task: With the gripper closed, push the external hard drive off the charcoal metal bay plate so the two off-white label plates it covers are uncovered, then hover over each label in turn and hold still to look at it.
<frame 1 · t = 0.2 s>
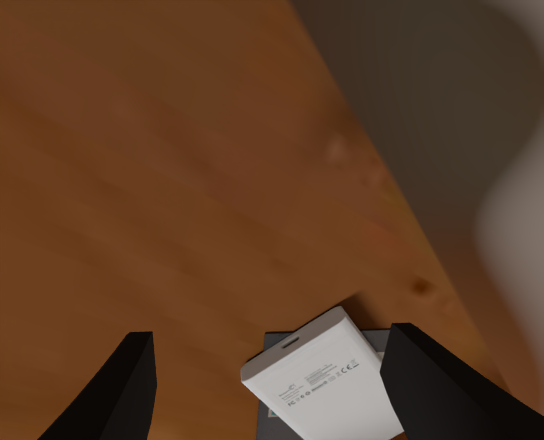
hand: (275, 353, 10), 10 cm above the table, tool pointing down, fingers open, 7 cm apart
external hard drive: (333, 382, 25), resting on bay plate
bay plate: (329, 402, 26), on the table
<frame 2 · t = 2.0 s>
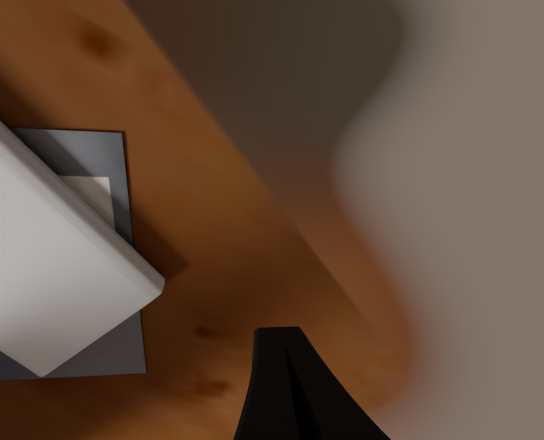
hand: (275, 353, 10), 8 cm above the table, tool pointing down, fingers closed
external hard drive: (10, 234, 16), resting on bay plate
bay plate: (19, 271, 17), on the table
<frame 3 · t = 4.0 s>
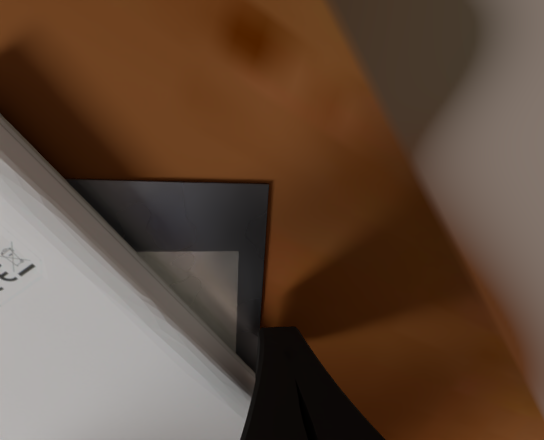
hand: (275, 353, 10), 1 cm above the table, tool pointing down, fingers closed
external hard drive: (55, 338, 10), resting on bay plate, touching gripper
bay plate: (88, 385, 11), on the table
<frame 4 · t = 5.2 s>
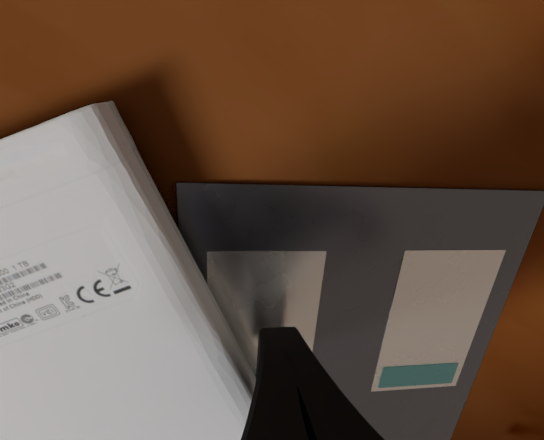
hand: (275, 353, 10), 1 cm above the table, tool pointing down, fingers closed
external hard drive: (99, 343, 11), on the table, touching gripper
bay plate: (341, 371, 12), on the table
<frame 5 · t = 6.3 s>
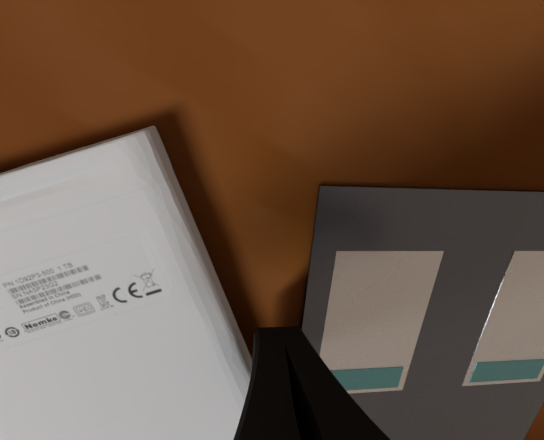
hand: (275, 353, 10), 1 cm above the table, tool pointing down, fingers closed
external hard drive: (118, 339, 11), on the table
bay plate: (437, 366, 13), on the table
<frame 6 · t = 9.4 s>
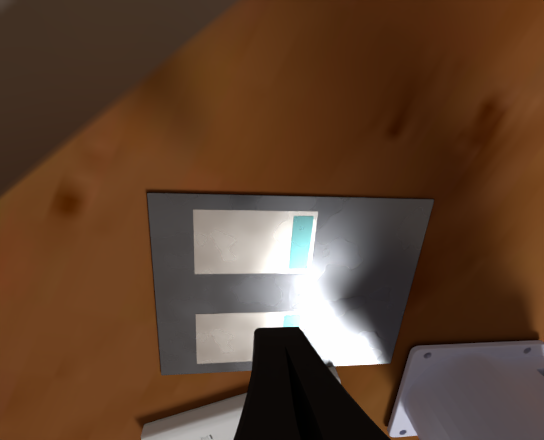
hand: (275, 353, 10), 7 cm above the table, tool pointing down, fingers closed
external hard drive: (256, 425, 23), on the table
bay plate: (289, 291, 18), on the table
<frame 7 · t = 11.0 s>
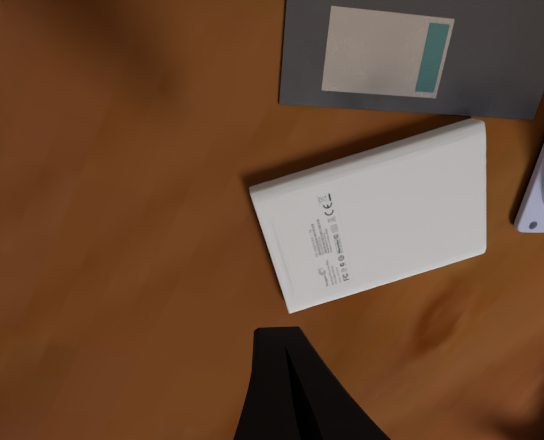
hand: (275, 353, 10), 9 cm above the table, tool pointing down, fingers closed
external hard drive: (367, 215, 20), on the table
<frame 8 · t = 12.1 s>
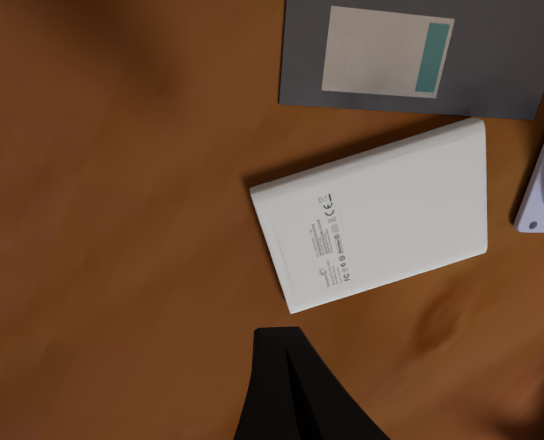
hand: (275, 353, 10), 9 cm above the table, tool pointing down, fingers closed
external hard drive: (367, 215, 20), on the table
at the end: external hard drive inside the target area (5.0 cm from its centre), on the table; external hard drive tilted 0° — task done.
